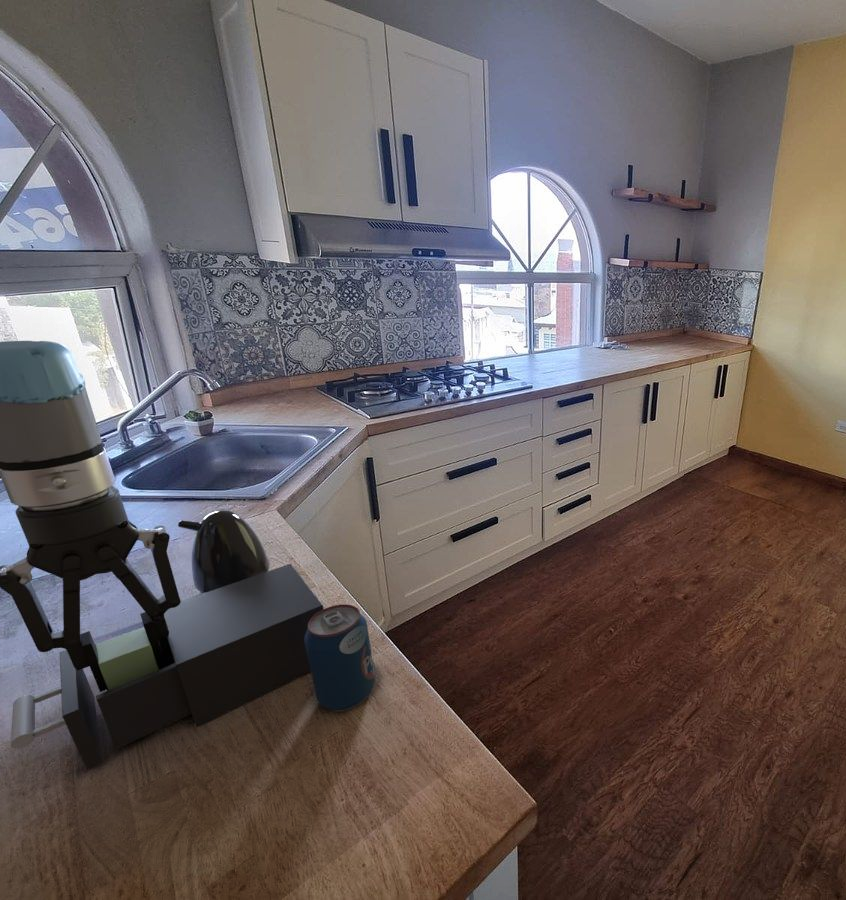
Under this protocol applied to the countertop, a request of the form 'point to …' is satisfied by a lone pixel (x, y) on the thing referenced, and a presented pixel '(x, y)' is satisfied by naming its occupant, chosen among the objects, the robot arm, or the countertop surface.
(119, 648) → the block
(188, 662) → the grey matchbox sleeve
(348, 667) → the soda can
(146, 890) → the countertop surface
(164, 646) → the drawer
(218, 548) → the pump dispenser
